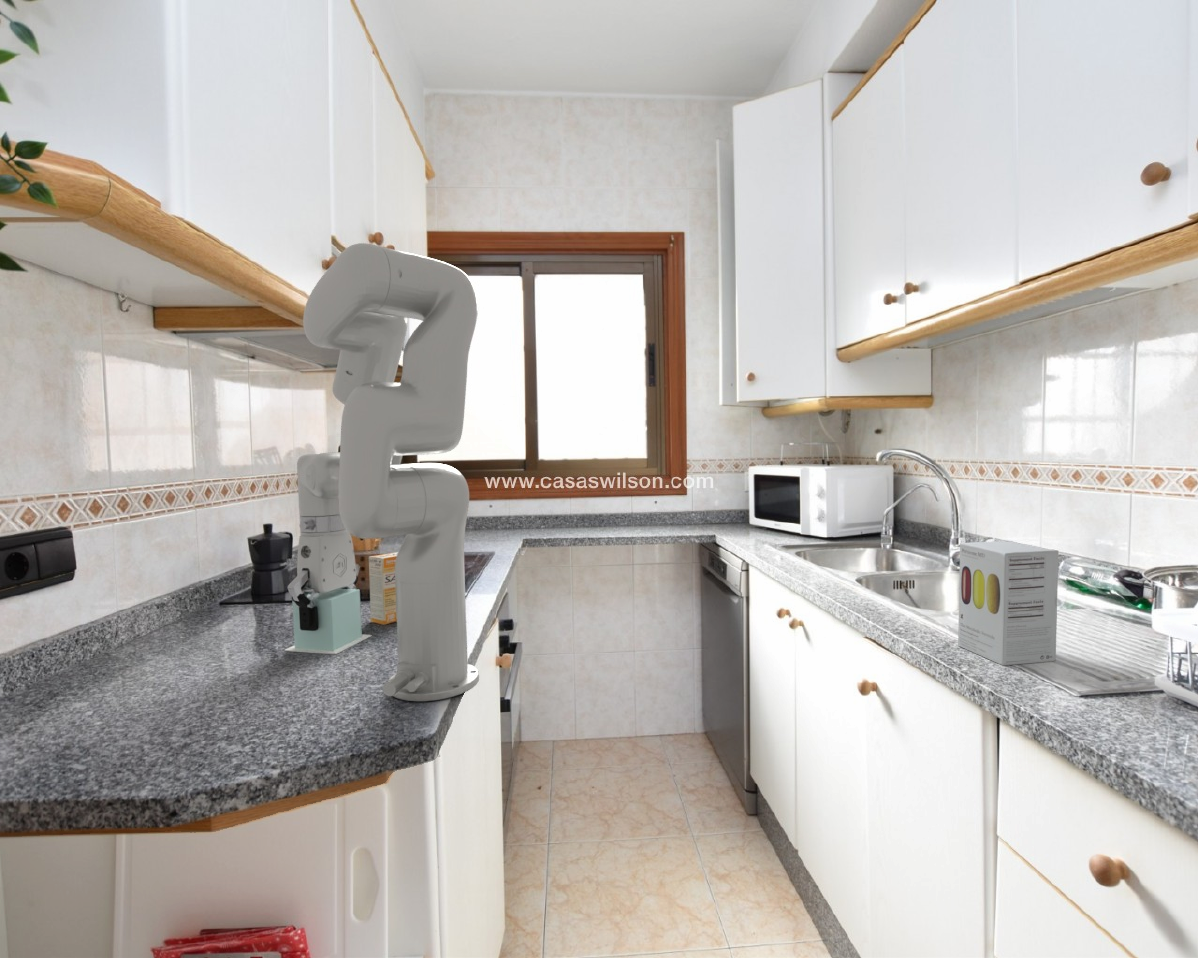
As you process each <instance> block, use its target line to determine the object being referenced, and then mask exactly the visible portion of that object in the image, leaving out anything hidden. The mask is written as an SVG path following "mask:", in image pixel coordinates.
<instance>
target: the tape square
mask: <svg viewBox="0 0 1198 958" xmlns="http://www.w3.org/2000/svg"><path fill="white" fill-rule="evenodd" d="M370 637H372V634H362V637H360V638H358V639H356V640H354V641H352V642H350V643H348V644H346V645H344V646H342V647H340V648H338V649H336V650H334V651H332V650H317V649H302V648H295V644H294V645H292V646H290V647H288V648H286V649H284V651H285V652H295V653H296V652H298V653H311V654H324V655H325V654H326V655H337V654H339V653H341V652H343V651H345V650H348V649H349V648H351V647H354V646H356V645H357V644H359V643H361V642H363V641H365V640H367V639H369V638H370Z"/></svg>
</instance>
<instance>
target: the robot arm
mask: <svg viewBox="0 0 1198 958" xmlns="http://www.w3.org/2000/svg"><path fill="white" fill-rule="evenodd" d="M478 301H479V300H478V293H477V290H476V287H475V285H474V283H473V281H472V280H471V279H470V277H469V276H468V274H466V273H465V272H464V271H463V270H462V269H460V268H458V267H456V266H454V265H452V264H450V263H447V262H445V261H441V260H438V259H435V258H431V257H427V256H423V255H419V254H415V253H410V252H407V251H401V250H397V249H393V248H390V247H385V246H381V245H376V244H372V243H364V242H363V243H362V242H361V243H355V244H352V245H349V246H347V247H346V248H345V249H344V250H342V252H341V253H340V254H339V255H338V256H337V257H336V259H335V260H334V261H333V262H332V264H330V266H329V268H328V269H327V270H326V271H325V272H324V274H323V275H322V276H321V277H320V278H319V280H317V283H316V284H315V286H314V287H313V289H312V290H311V293H310V294H309V297H308V299H307V301H306V303H305V307H304V311H303V317H302V319H303V320H302V326H303V331H304V334H305V336H306V339H307V340H308V341H309V342H310V343H311V344H312V345H314V346H315V347H318V348H323V349H333V350H339V355H338V356H339V357H338V360H337V365H336V371H335V374H334V380H333V383H332V387H331V389H332V393H333V396H334V397H335V399H337V400H338V402H340V403H342V404H343V405H344V406H343V410H342V415H341V425H340V443H339V444H340V445H339V446H340V447H339V452H335V451H334V452H323V453H322V452H321V453H313V454H312V453H311V454H303V455H301V456H300V457H299V458H298V459H297V462H296V474H297V475H296V477H297V492H298V493H297V494H298V496H297V497H298V513H299V514H298V515H299V533H300V535H299V538H298V544H297V545H298V547H297V559H296V560H297V561H296V562H297V563H296V565H297V566H296V568H297V569H296V571H297V573H296V574H297V576H296V577H294V579H293V580H292V581H290V583H289V584H288V585H287V590H288V592H289V595H290V597H291V601H292V600H293V601H294V602H295V603H296V607H298V608H299V619H300V629H301V630H305V631H316V630H318V628H319V626H318V608H317V607H314V605H315V603H316V601H317V599H318V596H319V594H320V593H321V594H326V593H330V592H332V591H335V590H338V589H357V586H356V585H357V583H358V580H359V573H360V570H361V567H360V564H358V563H356V557H355V549H354V543H353V537H355V538H357V539H358V538H359V539H362V540H363V539H364V540H365V539H366V540H372V539H383V538H390V537H396V536H398V537H399V536H403V535H404V536H405V537H404V539H403V541H402V543H401V545H400V547H399V549H398V551H397V552H398V554H397V557H396V562H395V590H396V613H397V621H396V630H397V631H396V635H397V657H398V661H397V663H396V673H395V674H393V675H392V676H391V677H390V678H389V679H388V681H386V682H385V683H383V685H382V692H383V693H384V695H385V696H386V697H394V698H396V699H398V700H402V701H407V702H431V701H440V700H445V699H449V698H453V697H456V696H459V695H462V694H464V693H467V692H469V691H470V690H472V689H473V688H474V687H476V685H478V683H479V681H480V672H479V670H478V668H477V667H475V666H474V665H472V664H469V663H468V662H469V661H468V635H467V634H468V633H467V609H466V584H465V583H466V579H465V578H466V577H465V535H466V525H467V520H468V519H467V518H468V514H469V513H468V512H469V507H470V506H469V505H470V489H469V485H468V482H467V480H466V478H465V476H464V475H463V474H462V473H461V472H460V471H459V470H458V469H456V468H454V467H453V466H451V465H448V464H446V463H445V464H443V463H438V462H421V463H420V462H417V463H402V459H403V456H422V455H423V456H424V455H426V456H427V455H438V454H444V453H448V452H451V451H452V450H455V448H457V447H458V445H459V444H460V441H461V439H462V435H463V429H464V421H465V408H466V407H465V405H466V396H467V395H466V394H467V393H466V392H467V378H468V361H469V354H470V349H471V344H472V341H473V336H474V333H475V329H476V324H477V319H478V312H479V302H478ZM408 319H413V320H419V321H422V322H420V324H419V325H418V326H416V328H415V329H414V331H413V332H412V334H411V335H410V336H409V338H408V339H407V342H406V343H405V339H406V336H407V331H408ZM404 343H405V346H404ZM403 348H404V349H403ZM402 351H403V354H402ZM401 355H402V371H401V372H402V373H401V379H400V381H399V382H395V380H396V375H397V372H398V367H399V363H400V358H401ZM352 536H353V537H352ZM308 594H309V595H311V596H310V598H309V599H308V598H307V595H308Z"/></svg>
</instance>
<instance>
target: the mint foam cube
mask: <svg viewBox="0 0 1198 958" xmlns="http://www.w3.org/2000/svg"><path fill="white" fill-rule="evenodd" d="M360 591H361V589H357V588H356V589H338V590H335V591H332V592H330V593H326V594H321V593H320V594H319V596H318V599H317V601H316V603H315V605H314V607H317V608H318V626H319V628H318V630H316V631H305V630H301V629H300V619H299V608H298V607H296V603H295V602H294V601H293V600H292V599H291V601H292V605H291V606H292V618H293V619H292V621H293V641H294V645H295V648H302V649H317V650H332V651H334V650H336V649H338V648H340V647H342V646H344V645H346V644H348V643H350V642H352V641H354V640H356V639H358V638H360V637H362V633H363V631H362V614H361V613H362V612H361V592H360ZM310 596H311V595H309V594H308V595H307V598H308V599H309V598H310Z"/></svg>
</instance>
